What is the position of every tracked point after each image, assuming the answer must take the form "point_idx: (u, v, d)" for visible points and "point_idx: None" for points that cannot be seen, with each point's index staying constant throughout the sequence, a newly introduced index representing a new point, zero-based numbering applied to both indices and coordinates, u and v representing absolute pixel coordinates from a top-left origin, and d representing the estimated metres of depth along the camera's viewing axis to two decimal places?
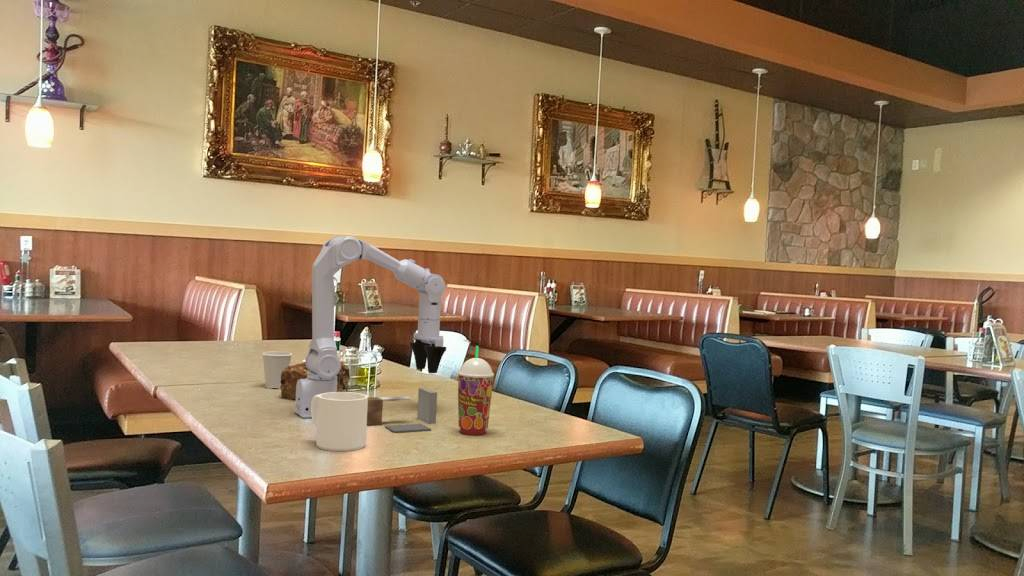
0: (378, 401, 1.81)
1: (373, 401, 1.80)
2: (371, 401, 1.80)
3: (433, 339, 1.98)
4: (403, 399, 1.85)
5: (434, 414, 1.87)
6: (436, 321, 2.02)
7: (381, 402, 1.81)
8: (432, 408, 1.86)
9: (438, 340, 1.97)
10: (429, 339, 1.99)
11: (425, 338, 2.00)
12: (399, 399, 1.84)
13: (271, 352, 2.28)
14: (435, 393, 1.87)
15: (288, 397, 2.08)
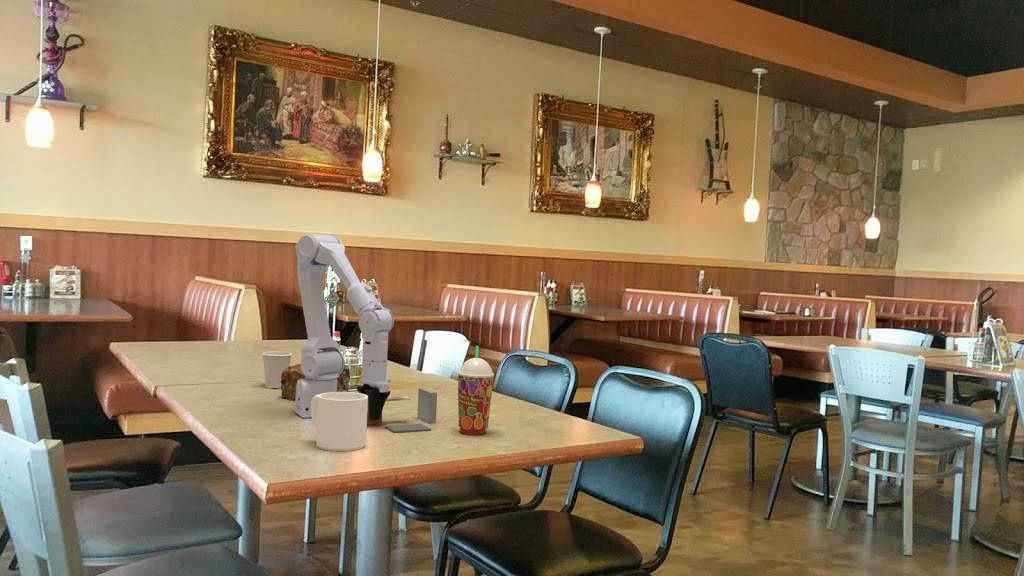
0: None
1: None
2: None
3: (377, 384, 1.77)
4: (403, 399, 1.85)
5: (434, 414, 1.87)
6: (382, 363, 1.80)
7: None
8: (432, 408, 1.86)
9: (383, 385, 1.76)
10: (373, 384, 1.77)
11: (369, 382, 1.78)
12: (399, 399, 1.84)
13: (271, 352, 2.28)
14: (435, 393, 1.87)
15: (288, 397, 2.07)
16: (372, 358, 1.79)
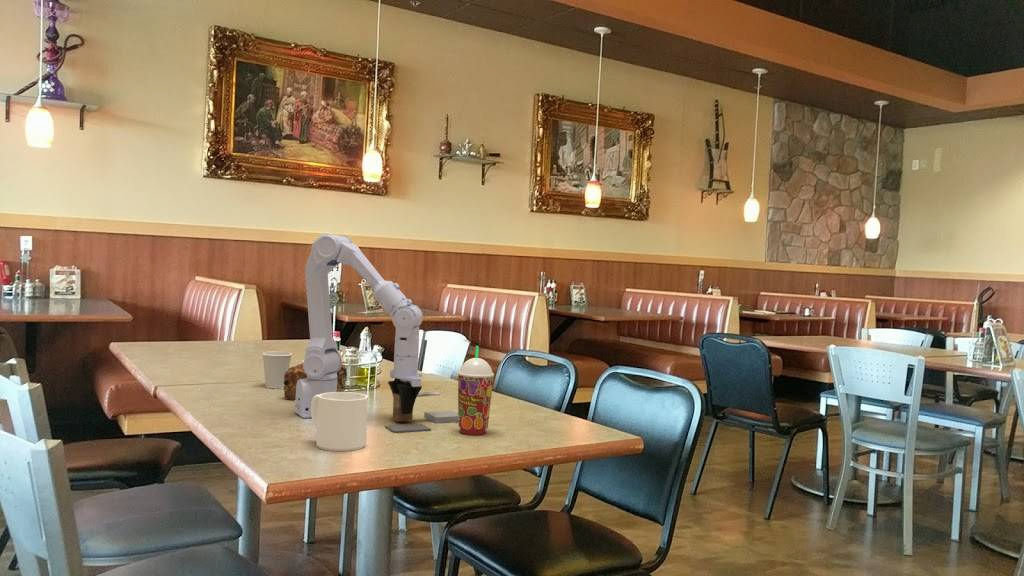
0: None
1: None
2: None
3: (410, 378, 1.81)
4: (433, 394, 1.89)
5: (444, 422, 1.88)
6: (413, 358, 1.84)
7: None
8: (449, 419, 1.89)
9: (415, 379, 1.80)
10: (406, 378, 1.81)
11: (401, 377, 1.82)
12: (429, 394, 1.88)
13: (271, 352, 2.28)
14: None
15: (292, 398, 2.06)
16: (408, 353, 1.83)
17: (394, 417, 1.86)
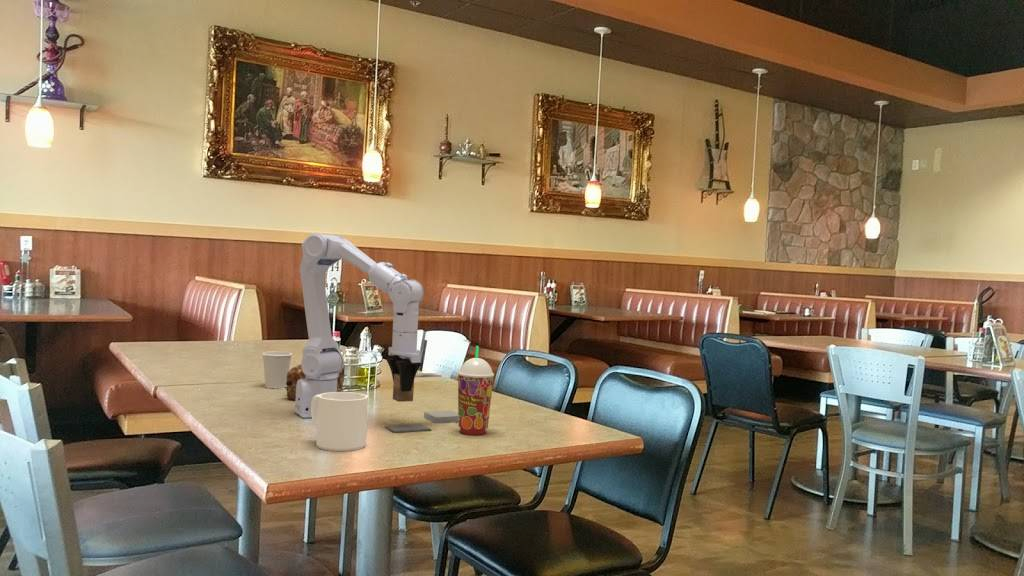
0: None
1: None
2: None
3: (409, 354, 1.76)
4: (434, 375, 1.84)
5: (444, 422, 1.88)
6: (413, 334, 1.79)
7: None
8: (449, 419, 1.89)
9: (414, 355, 1.75)
10: (405, 354, 1.77)
11: (400, 353, 1.78)
12: (430, 375, 1.84)
13: (271, 352, 2.28)
14: None
15: (295, 399, 2.06)
16: (404, 329, 1.78)
17: (394, 398, 1.81)
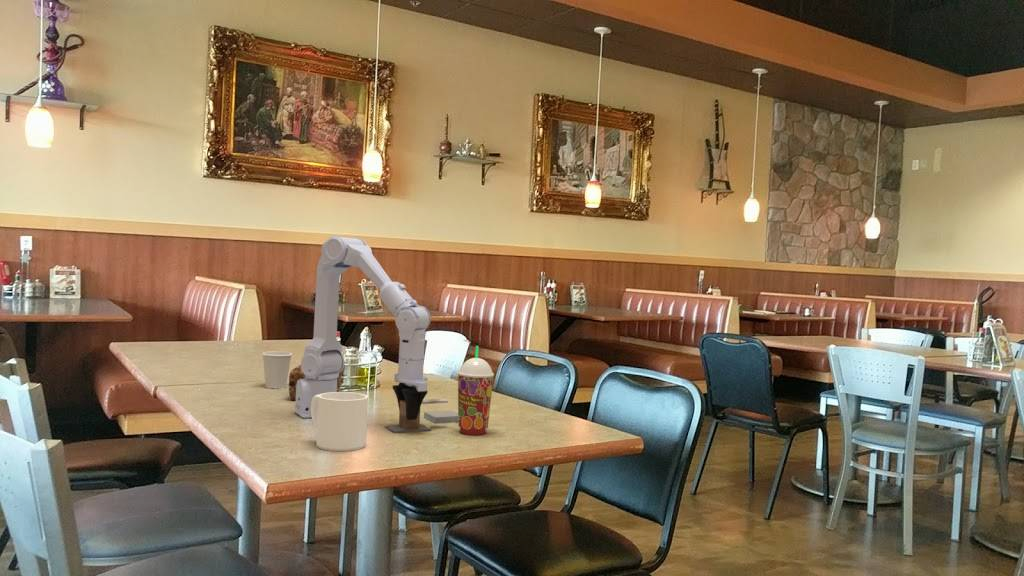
0: None
1: None
2: None
3: (415, 383, 1.73)
4: (440, 402, 1.81)
5: (443, 422, 1.88)
6: (419, 361, 1.77)
7: None
8: (449, 419, 1.89)
9: (421, 384, 1.72)
10: (411, 383, 1.74)
11: (406, 381, 1.75)
12: (436, 402, 1.81)
13: (271, 352, 2.28)
14: None
15: None
16: (410, 357, 1.76)
17: (400, 425, 1.79)
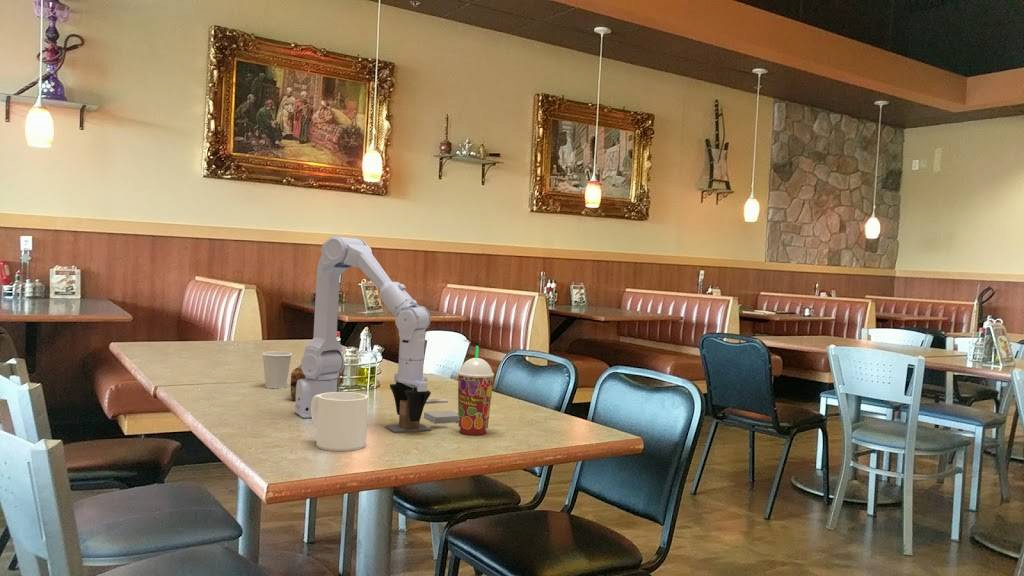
0: None
1: None
2: None
3: (415, 383, 1.73)
4: (440, 402, 1.81)
5: (443, 422, 1.88)
6: (419, 361, 1.77)
7: None
8: (449, 419, 1.89)
9: (421, 384, 1.72)
10: (411, 383, 1.74)
11: (406, 381, 1.75)
12: (436, 402, 1.81)
13: (271, 352, 2.28)
14: None
15: None
16: (410, 357, 1.76)
17: (400, 425, 1.79)
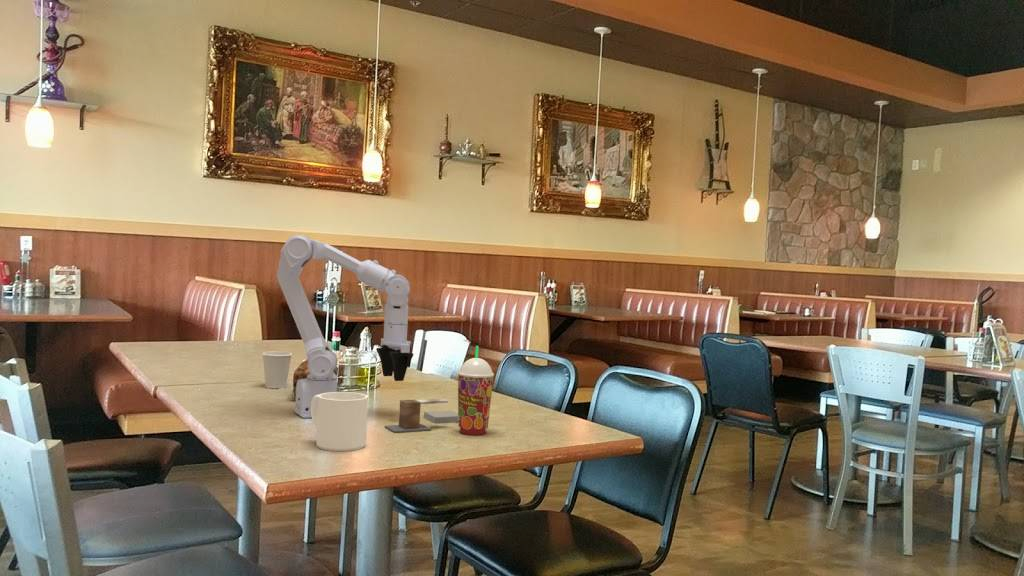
0: (416, 404, 1.78)
1: (411, 404, 1.77)
2: (409, 404, 1.77)
3: (399, 345, 1.87)
4: (440, 402, 1.81)
5: (443, 422, 1.88)
6: (403, 326, 1.90)
7: (419, 405, 1.78)
8: (449, 419, 1.89)
9: (404, 346, 1.86)
10: (395, 345, 1.88)
11: (391, 344, 1.89)
12: (436, 402, 1.81)
13: (271, 352, 2.28)
14: None
15: None
16: (401, 321, 1.90)
17: (400, 425, 1.79)
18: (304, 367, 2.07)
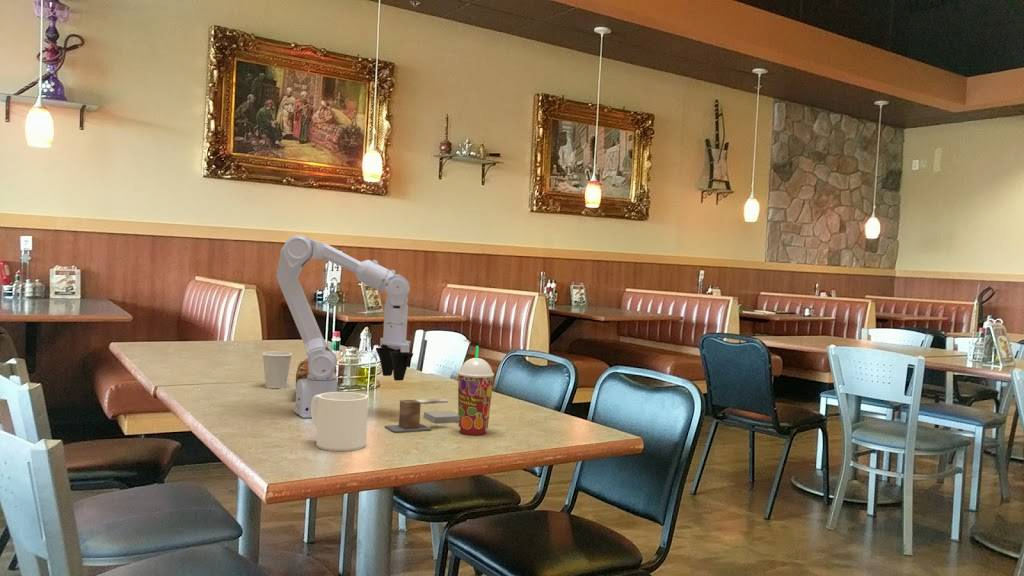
0: (416, 404, 1.78)
1: (411, 404, 1.77)
2: (409, 404, 1.77)
3: (399, 344, 1.87)
4: (440, 402, 1.81)
5: (443, 422, 1.88)
6: (402, 325, 1.91)
7: (419, 405, 1.78)
8: (449, 419, 1.89)
9: (404, 345, 1.86)
10: (395, 344, 1.88)
11: (391, 343, 1.89)
12: (436, 402, 1.81)
13: (271, 352, 2.28)
14: None
15: None
16: (401, 321, 1.90)
17: (400, 425, 1.79)
18: (306, 367, 2.07)
